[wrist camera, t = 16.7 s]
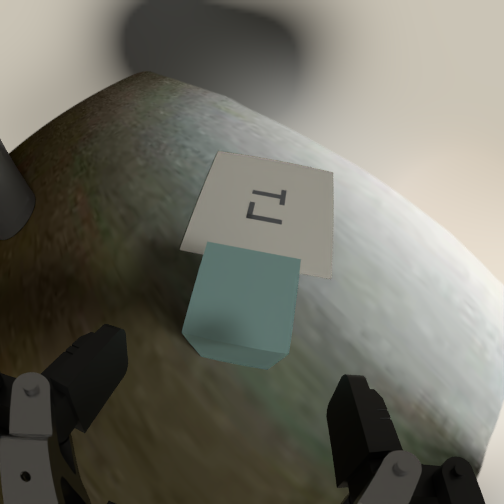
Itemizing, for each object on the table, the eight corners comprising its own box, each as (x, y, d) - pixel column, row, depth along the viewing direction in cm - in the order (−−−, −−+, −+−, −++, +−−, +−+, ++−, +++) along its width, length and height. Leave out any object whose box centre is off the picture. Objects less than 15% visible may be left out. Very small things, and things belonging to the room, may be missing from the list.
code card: (179, 250, 28) (179, 249, 28) (218, 151, 36) (218, 150, 36) (331, 279, 28) (331, 278, 28) (332, 172, 36) (333, 172, 35)
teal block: (201, 356, 23) (181, 332, 14) (215, 296, 26) (207, 241, 17) (267, 369, 23) (288, 354, 14) (277, 308, 26) (300, 259, 17)
